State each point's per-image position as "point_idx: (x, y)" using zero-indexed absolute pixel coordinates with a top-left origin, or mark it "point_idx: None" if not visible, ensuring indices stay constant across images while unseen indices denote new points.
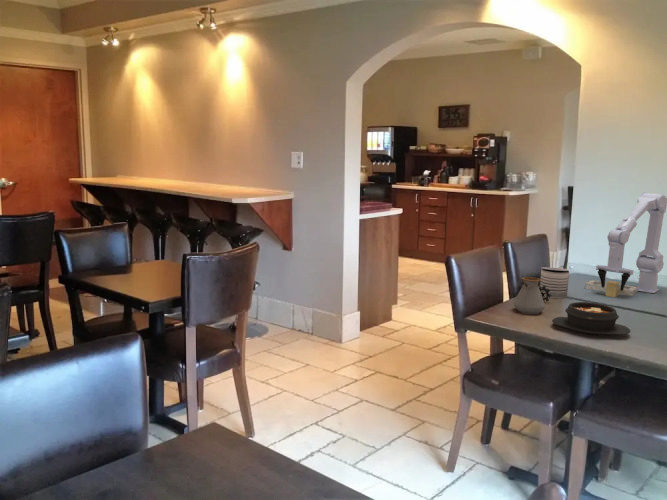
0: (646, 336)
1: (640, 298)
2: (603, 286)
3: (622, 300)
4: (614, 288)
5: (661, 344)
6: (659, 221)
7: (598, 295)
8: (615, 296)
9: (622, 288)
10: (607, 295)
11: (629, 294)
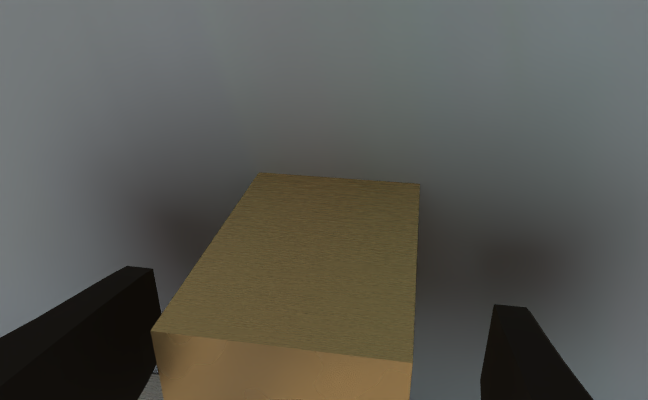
0: None
1: (16, 320)
2: (493, 334)
3: (90, 15)
4: (239, 258)
5: None
6: None
7: (535, 115)
8: (254, 182)
9: (92, 288)
10: (385, 185)
11: (152, 388)
